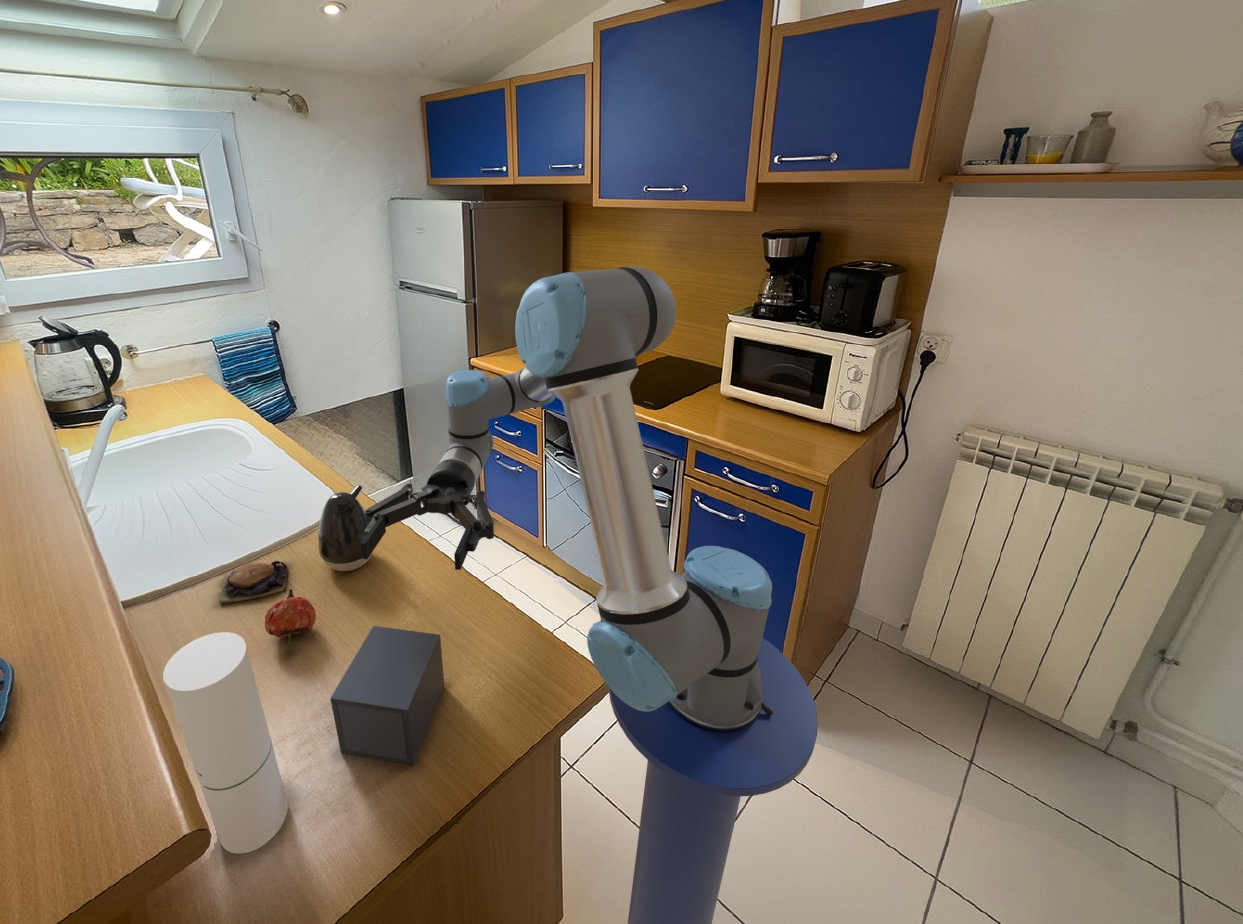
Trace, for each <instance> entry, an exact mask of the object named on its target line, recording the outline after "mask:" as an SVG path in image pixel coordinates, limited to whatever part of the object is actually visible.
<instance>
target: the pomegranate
mask: <svg viewBox="0 0 1243 924" xmlns="http://www.w3.org/2000/svg"><path fill="white" fill-rule="evenodd" d="M264 617H265V618H264V629H265V631H266V633H267V634H268V635H269V636H274V637H276V638H279V639H281V638H286V637H288V648H287V649H288V650H287V653H288V654H287V655H288V656H290V654H291V646H292V644H293V643H292V635H296V634H305V633H309V632H310V631H312V628H313V627H314V625H315V623H316V619H317V617H316V610H315V608H314V606H313V604H312V603H311V602H310V601H309V600H307V599H306V598H305V597H303V596H294V593H293V589H292V588H290V589H288V596H287V597H286V599H281V600H279V601H277V602H276V603H274V604H273V605H272V606H271V607H270V608H269V609H268V610H267V612H266V614H265V616H264Z"/></svg>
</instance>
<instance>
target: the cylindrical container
mask: <svg viewBox="0 0 1243 924" xmlns="http://www.w3.org/2000/svg"><path fill="white" fill-rule="evenodd" d="M162 674H163V675H162V679H163V682H164V685H165V688H166V691H167V694H168V697H169V700H170V702H171V705H172V709H173V711H174V713H175V716H176V720H177V722H178V726H179V728H180V732H181V733H182V737H183V739H184V742H185V745H186V747H187V751H188V753H189V757H190V759H191V763H192V765H193V768H194V771H195V774H196V776H197V779H198V782H199V785H200V788H201V791H202V794H203V796H204V800H205V802H206V806H207V808H208V810H209V814H210V817H211V819H212V821H213V825H214V827H215V830H216V833H217V837H218V839H219V842H220V844H221V846H222V847H223V849H224V850H225V851H227V852H228V853H231V854H236V855H240V854H246V853H247V854H248V853H251V852H253V851H256V850H258V849H260V848H262V847H263V846H264V845H266V844H267V843H268V842H269V841H271V840H272V839H273V838H274V837H275V836H276V834H278V832H279V831H280V830H281V828H282V826H283V825H284V822H285V821H286V817H287V815H288V809H289V806H288V805H289V804H288V799H287V798H288V797H287V794H286V791H285V787H284V783H283V779H282V775H281V772H280V768H279V764H278V761H277V756H276V753H275V750H274V746H273V742H272V738H271V734H270V730H269V727H268V722H267V719H266V715H265V712H264V711H265V710H264V707H263V705H262V700H261V697H260V692H259V689H258V684H257V681H256V678H255V677H256V676H255V675H254V669H253V665H252V662H251V659H250V655H249V651H248V646H247V644H246V641H245V639H244V638H243V637H242V636H241V635H239V634H237V633H234V632H228V631H222V632H214V633H209V634H206V635H203V636H200V637H199V638H195V639H194V640H192V641H191V642H189V643H187V644H185V645H184V646H182V647H181V648H180V649H178V650H177V651H176V652H175V653H174V654H173V655H172V656H171V657H170V658H169V660H168V662H167V663H166V665H165V667H164V669H163V673H162Z"/></svg>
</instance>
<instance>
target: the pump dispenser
mask: <svg viewBox="0 0 1243 924" xmlns="http://www.w3.org/2000/svg"><path fill="white" fill-rule="evenodd" d="M362 490H363V486H362V485H359V484H358V485H357V486H356V487H354V489H353V490H352V491H351V492H350V493H349V492H345V491H339V492H336V493H333V494H332V495H330V497H329V498H328V499H327V500H326V502H325V504H324V506H323V509H322V512H321V515H320V519H319V526H318V535H317V537H318V538H317V545H318V546H317V547H318V554H319V556H320V558H321V559H322V560H323V561H324V563H325V564H326V565H327V566H328V567H329V568H331V569H333V570H335V571H339V572H349V571H350V572H351V571H355V570H356V569H359V568H361V567H362V566H364V565H365V564H366V563H367V562H368V561H369V560H370V559H371V557H372V555H373V552H372V553H371V555H370V556H369V558H368V559H362V552H361V544H360V543H361V542H362V540H363V539H364V538H365V529H366V528H367V525H366V518H365V510H366V509H365V508H364V507H363V505H362V503H360V501H359V500H358V499H357V497H358V496H359V495H360V493H361V492H362Z"/></svg>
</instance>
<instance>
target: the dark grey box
mask: <svg viewBox="0 0 1243 924" xmlns="http://www.w3.org/2000/svg"><path fill="white" fill-rule="evenodd" d="M442 651H443V650H442V640H441V634H439V633H431V632H423V631H415V630H408V629H401V628H393V627H385V626H379V625H378V626H377V625H372V627H371V628H370V630H369V632H368V634H367V636H366V637H365V638H364V640H363V642H362V644H361V646H360V647H359V649H358V650H357V652H356V654H355V655H354V657H353V659H352V661H351V663H350V664H349V666H348V667H347V669H346V670H345V673H344V675H342V677H341V679H340V681H339V682H338V684H337V686H336V688H335V690H334V691H333V692H332V694H331V696H330V699H329V700H330V703H331V709H332V713H333V719H334V724H335V730H336V734H337V739H338V745H339V750H340V753H341V754H343V755H349V756H350V755H351V756H356V757H357V756H358V757H362V758H369V759H374V760H380V761H385V762H386V761H387V762H392V763H398V764H403V765H410V766H415V764H416V761H417V759H418V756H419V754H420V751H421V748H422V747H423V743H424V740H425V738H426V735H427V733H428V730H429V727H430V726H431V722H432V719H433V717H434V714H435V711H436V709H437V707H438V705H439V701H440V698H441V697H442V693H443V691H444V689H445V677H444V663H443V652H442Z"/></svg>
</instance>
